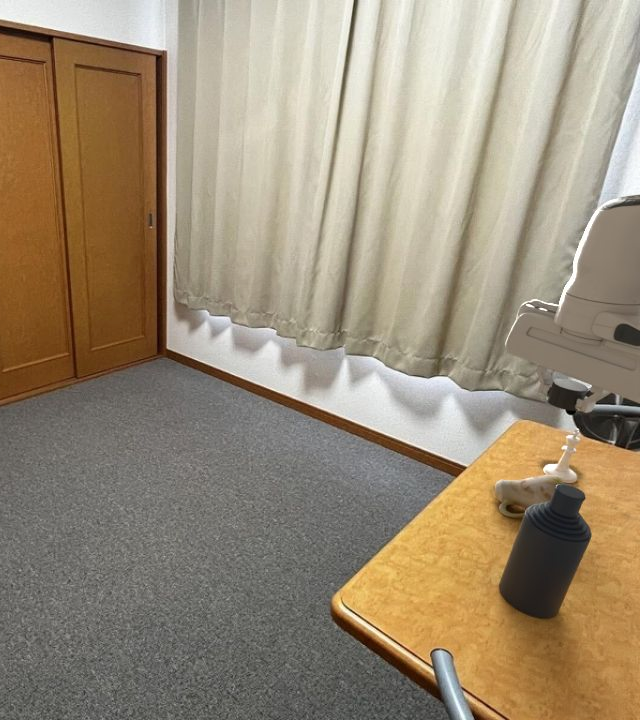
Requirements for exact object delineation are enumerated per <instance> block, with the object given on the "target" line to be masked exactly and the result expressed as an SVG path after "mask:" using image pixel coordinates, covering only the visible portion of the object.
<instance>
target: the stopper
mask: <svg viewBox="0 0 640 720" xmlns="http://www.w3.org/2000/svg"><path fill="white" fill-rule="evenodd" d="M588 391H589V388H588V386H587V385H585V384H583V383H582V382H579V381H575V380H571V379H567V378H555V379H553V383H552V386H551V388H550V391H549V394H548V396H546V402H547V404H549V405H550V406H552V407H555V408H558V409H561V410H565V411H579V410H578V409H575V408H574V406H575V405H576V401H577V399H578V398H583V397H586V396H587V393H588Z"/></svg>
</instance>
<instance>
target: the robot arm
mask: <svg viewBox="0 0 640 720" xmlns="http://www.w3.org/2000/svg"><path fill="white" fill-rule="evenodd" d="M558 303H559V304H554V303H548V302H544V301H542V300H538V299H531V300H530V301H529V300H528V301H525V302H523V303H522V304H521V305H520V306H519V308H518V311H517V314H516V319H515V321H514V323H513V325H512V326H511V329H510V331H509V333H508V336H507V338H506V341H505V344H504V348H505V350H506V353H507V354H509V355H511V356H514V357H517V358H519V359H522V360H524V361H527V362H530V363H532V364H535V365H537V367H536V370H535V371H536V374H537V378H538V381H539V387H538V390H537V393H539V394H541V395H543V396H546V397H547V396H548V394H549V391H550V388H551V386H552V383H553V381H554V379H553V377H552V375H553V374H552V373H555V372H556V373H559V374H561V375H564V376H567V377H569V378H571V379H575V380H577V381H580V382H581V383H585V384H587V385H590V386H591V387H590V390H589V392H590V393H592V394H591V395H589V396H585V397H583V398H578V399H577V401H576V405H575V406H574V408H575V409H578V410H577V411H580V412H583V413H585V414H587V413H591V412H592V411H594V408H595V406H596V403H597V402H599V401H601V400H602V399H604V398H606V397H607V396H609V395H611V394H614V395H617V396H619V397H621V398H623V399H624V398H625V399H627V400H630V401H632V402H634V403H638V404H640V194H633V195H626V196H621V197H616V198H615V199H611V200H609V201H607V202H605V203H603V204H601V205H600V206H599V207H598V209H596V211H595V212H594V214H593V215H592V217H591V219H590V221H589V222H588V224H587V226H586V228H585V231H584V233H583V235H582V238H581V240H580V242H579V245H578V248H577V250H576V253H575V256H574V259H573V273H572V276H571V277H570V279H569V281H568V282H567V283H566V285H565V286H564V289H563V291H562V294H561V297H560V300H559V302H558Z"/></svg>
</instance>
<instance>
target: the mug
mask: <svg viewBox="0 0 640 720" xmlns="http://www.w3.org/2000/svg"><path fill="white" fill-rule="evenodd" d="M558 484H564V482H563V479H562V477H561V476H557V475H546V474H539V475H535V476H531V477H527V478H523V479H522V478H521V479H500V480H498V481H496V483H495V485H494V496H495V498H496V499H497V500H498V501H499V502H500V504H499V507H498V511H499V512H500V513H501V514H502V515H504V516H506V517H508V518H512V519H523V517H524V514H525V512H521V513H514V512H513V513H512V512H510V511H508V510H507V507H508V506H517V507H521V508H523V509H525V510H527V509H528V508H529V507H530V506H532V505H534V504H539V503H544V502H549V501H550V500H551V498H552V495H553V492H554V490H555V489H554V488H555V486H556V485H558Z"/></svg>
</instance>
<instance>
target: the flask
mask: <svg viewBox="0 0 640 720" xmlns="http://www.w3.org/2000/svg"><path fill="white" fill-rule="evenodd" d="M554 489H555V490H554V492H553V495H552V498H551V500H550V501H549V502H544V503H539V504H534V505H532V506H530V507H529V508H528V509H525V511H524V513H525V514H524V517H523V518H522V520H521V522H520V525H519V528H518V531H517V534H516V537H515V539H514V541H513V545H512V547H511V550H510V552H509V556H508V559H507V561H506V564H505V567H504V569H503V573H502V576H501V578H500V580H499V582H498V589H499V592H500V594H501V596H502V597H503V599H504V600H505V601H506V602H507V603H508V604H509V605H510V606H512V607H513V608H514V609H516V610H517V611H519V612H521V613H523V614H525V615H527V616H530V617H531V618H532V617H533V618H537V619H540V620H541V619H542V620H550V619H552V618H555V617H556V616H557V615H558V614H559V612H560V609H561V607H562V605H563V603H564V600H565V598H566V596H567V593H568V591H569V589H570V586H571V584H572V582H573V580H574V578H575V575H576V573H577V571H578V570H579V569H578V568H579V566H580V565H581V562H582V560H583V558H584V555H585V553H586V550H587V549H588V547H589V544H590V542H591V540H592V536H593V535H592V534H593V533H592V531H591V527H590V525H589V523H587V521H586V520H585V518H584V517H583V516H582V514H581V513H580V510H581V508H582V505H583V504H584V501H586V498H587V497H586V494H585V492H583V490H581V489H580V488H578V487H576V486H574V485H570V484H568V483H563V484H558V485H556V486H555V488H554Z"/></svg>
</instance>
